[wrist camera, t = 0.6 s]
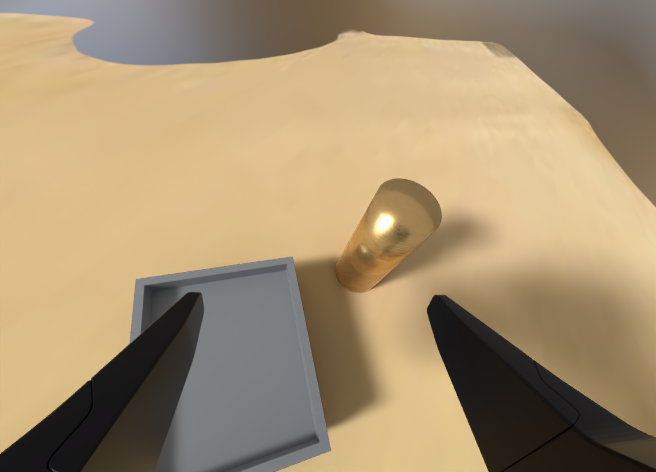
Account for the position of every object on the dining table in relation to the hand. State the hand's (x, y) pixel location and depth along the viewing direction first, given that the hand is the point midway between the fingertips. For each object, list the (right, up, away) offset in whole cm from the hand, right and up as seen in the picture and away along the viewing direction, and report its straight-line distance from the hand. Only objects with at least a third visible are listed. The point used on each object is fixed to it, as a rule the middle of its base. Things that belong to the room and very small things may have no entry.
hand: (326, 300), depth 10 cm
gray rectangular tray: (-8, -8, +12) cm, 17 cm away
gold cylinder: (+3, -1, +18) cm, 19 cm away
